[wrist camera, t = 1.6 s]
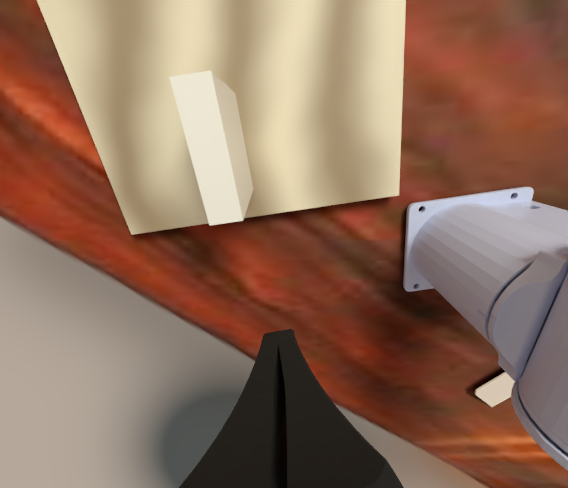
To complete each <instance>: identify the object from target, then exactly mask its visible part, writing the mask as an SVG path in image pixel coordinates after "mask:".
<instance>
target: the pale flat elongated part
mask: <svg viewBox="0 0 568 488" xmlns="http://www.w3.org/2000/svg"><path fill="white" fill-rule="evenodd" d="M514 383H515V381H514V380H513V379H512V378H511V377H510V376H509V375H508V374H507V373H506V372H504V373H502V374H501V375H499V376H497V377H496V378H494V379H492V380H491V381H489V382H487V383H486V384H484V385H482V386H481V387H479V388H477V389H475V393H474V394H475V395H476V396H478V397H479V398H480V399H482V400H483V401H484V402H486V403H487V404H488V405H490V406H491V407H493V406H495V405H497V404H499V403H500V402H502V401H504V400H506V399H508V398H509V397H511V392H512V387H513V385H514Z"/></svg>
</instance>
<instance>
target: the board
mask: <svg viewBox="0 0 568 488" xmlns="http://www.w3.org/2000/svg"><path fill="white" fill-rule="evenodd" d="M37 2H38V4H39V7H40V9H41V12H42V14H43V17H44V19H45V21H46V24H47V26H48V29H49V31H50V34H51V36H52V39H53V41H54V44H55V46H56V49H57V51H58V54H59V56H60V59H61V61H62V64H63V66H64V69H65V71H66V74H67V76H68V79H69V81H70V84H71V86H72V88H73V91H74V93H75V96H76V98H77V101H78V103H79V106H80V108H81V111H82V113H83V116H84V118H85V121H86V123H87V126H88V128H89V131H90V133H91V136H92V138H93V141H94V143H95V146H96V148H97V151H98V153H99V155H100V158H101V160H102V163H103V165H104V168H105V170H106V173H107V175H108V178H109V180H110V183H111V185H112V188H113V190H114V193H115V195H116V198H117V200H118V203H119V205H120V208H121V210H122V213H123V215H124V218H125V220H126V222H127V225H128V227H129V230H130V232H131V235H133V234H140V233H147V232H154V231H160V230H167V229H174V228H181V227H188V226H194V225H201V224H208V223H209V222H208V219H207V215H206V211H205V208H204V204H203V200H202V196H201V193H200V189H199V185H198V182H197V178H196V174H195V171H194V167H193V163H192V159H191V156H190V152H189V148H188V145H187V141H186V137H185V134H184V130H183V126H182V123H181V119H180V115H179V111H178V108H177V104H176V100H175V97H174V93H173V89H172V86H171V82H170V78H169V77H172V76H178V75H185V74H191V73H197V72H203V71H210V70H211V71H212V72H213V73H214V74H215V75H216V76H218V77H219V78H220V79H221V80H222V81H223V82H224V83H225V84H226V85H227V86H228V87H229V88H230V89H231V90H232V91H233V92H234V93H235V94H236V100H237V105H238V110H239V116H240V121H241V126H242V132H243V137H244V142H245V147H246V153H247V158H248V163H249V169H250V174H251V179H252V185H253V192H252V195H251V198H250V201H249V204H248V207H247V211H246V214H245V217H244V218H249V217H256V216H262V215H269V214H276V213H283V212H289V211H296V210H303V209H310V208H317V207H323V206H330V205H337V204H344V203H351V202H357V201H364V200H371V199H378V198H384V197H391V196H398V195H399V179H400V151H401V122H402V94H403V66H404V37H405V9H406V0H37Z"/></svg>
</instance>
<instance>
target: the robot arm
mask: <svg viewBox="0 0 568 488" xmlns="http://www.w3.org/2000/svg"><path fill="white" fill-rule="evenodd" d="M533 193H534V190H533V189H532V188H530V187H519V188H512V189H506V190H499V191H492V192H485V193H478V194H471V195H465V196H458V197H451V198H444V199H437V200H431V201H424V202H417V203H412V204H410V205H409V206H408V208H407V218H406V239H405V259H404V280H403V287H404V289H405V290H406V291H408V292H412V291H419V290H426V289H433V288H435V289H436V290H437V291H438V292H439V293H440V294H441V295H442V296H443V297H444V298H445V299H446V300H447V301H448V302H449V303H450V304H451V305H452V306H453V307H454V308H455V309H456V310H457V311H458V312H459V313H460V314H461V315H462V316H463V317H464V318H465V319H466V320H467V321H468V322H469V323H470V324H471V325H472V326H473V327H474V328H475V329H476V330H477V331H478V332H479V333H480V334H481V335H482V336H483V337H484V338H485V339H486V340H487V341H488V342H490V343H491V344H492V345H493V346H494V347H495V349H496V350H497V352H498V355H499V359H498V365H499V366H500V367H501V368H502V369H503V370H504V371H505V372H506V373H507V374H508V375H509V376H510V377H511V378H512V379H513V380H514V381H515V383H514V385H513V387H512V392H511V399H512V405H513V407H514V410H515V413H516V415H517V417H518V418H519V420H520V422H521V424H522V425H523V426H524V428H525V429H526V431H527V432H528V433H529V435H530V436H531V437H532V438H533V439H534V440H535V441H536V442H537V444H538V445H539V446H540V447H541V448H542V449H543V450H544V451H545V452H546V453H547V454H548V455H550V456H551V457H552V458H553V459H554V460H555V461H556V462H557V463H559V464H560V465H561V466H562V467H564V468H565V469H566V470H567V471H568V211H567V210H563V209H560V208H556V207H552V206H549V205H545V204H542V203H538V202H534V201H532V197H533ZM512 194H513V196H512V197H511V195H512ZM421 206H423V209H422V210H421V211H419V208H420V207H421ZM415 284H417V285H416V286H414V285H415ZM179 488H403V486H402V484H401V482H400V481H399V479H398V478H397V476H396V474H395V473H394V471H393V470H392V468H391V467H390V465H389V463H388V462H387V460H386V459H385V458H384V457H383V456H382V455H380V453H379V452H378V451H377V450H375V449H374V448H373V447H372V446H371V445H370V444H369V443H368V442H367V441H366V440H365V439H364V438H363V436H361V434H360V433H359V432H358V431H357V430H356V429H355V428H354V427H353V426H352V425H351V423H350V422H349V421H348V420H347V419H346V418H345V416H344V415H343V414H342V413H341V412H340V411H339V409H338V408H337V407H336V406H335V404H334V403H333V402H332V401H331V399H330V398H329V397H328V395H327V394H326V392H325V391H324V390H323V388H322V387H321V385H320V384H319V382H318V381H317V379H316V378H315V376H314V374H313V373H312V371H311V370H310V368H309V366H308V364H307V362H306V361H305V359H304V357H303V355H302V353H301V351H300V349H299V346H298V344H297V341H296V338H295V335H294V331H293V330H292V329H288V330H282V331H277V332H271V333H265V334H264V336H263V339H262V343H261V347H260V350H259V353H258V356H257V359H256V361H255V364H254V367H253V369H252V372H251V374H250V377H249V379H248V381H247V383H246V385H245V388H244V390H243V392H242V394H241V396H240V398H239V400H238V402H237V404H236V406H235V407H234V409H233V411H232V413H231V415H230V417H229V418H228V420H227V421H226V423H225V425H224V426H223V428H222V430H221V431H220V433H219V435H218V436H217V438H216V439H215V440H214V442H213V443H212V445H211V446H210V448H209V449H208V450H207V452H206V453H205V455H204V456H203V457H202V459H201V460H200V462H199V463H198V464H197V466H196V467H195V468H194V470H193V471H192V472H191V473H190V475H189V476H188V477H187V478H186V480H185V481H184V482H183V483H182V485H181V486H180V487H179Z"/></svg>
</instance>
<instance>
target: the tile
mask: <svg viewBox="0 0 568 488" xmlns="http://www.w3.org/2000/svg"><path fill="white" fill-rule="evenodd" d="M169 78H170V82H171V86H172V89H173V93H174V97H175V100H176V104H177V108H178V111H179V115H180V119H181V123H182V126H183V130H184V134H185V137H186V141H187V145H188V148H189V152H190V156H191V159H192V163H193V167H194V171H195V174H196V178H197V182H198V185H199V189H200V193H201V196H202V200H203V204H204V208H205V211H206V215H207V219H208V222H209V226H211V225H218V224H225V223H231V222H238V221H243V220H244V217H245V214H246V211H247V207H248V204H249V201H250V198H251V195H252V192H253V185H252V179H251V174H250V169H249V163H248V158H247V153H246V147H245V142H244V137H243V132H242V126H241V121H240V116H239V110H238V105H237V100H236V94H235V93H234V92H233V91H232V90H231V89H230V88H229V87H228V86H227V85H226V84H225V83H224V82H223V81H222V80H221V79H220V78H219V77H218V76H216V75H215V74H214V73H213V72H212V71H211V70H210V71H203V72H197V73H191V74H185V75H178V76H172V77H169Z"/></svg>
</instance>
